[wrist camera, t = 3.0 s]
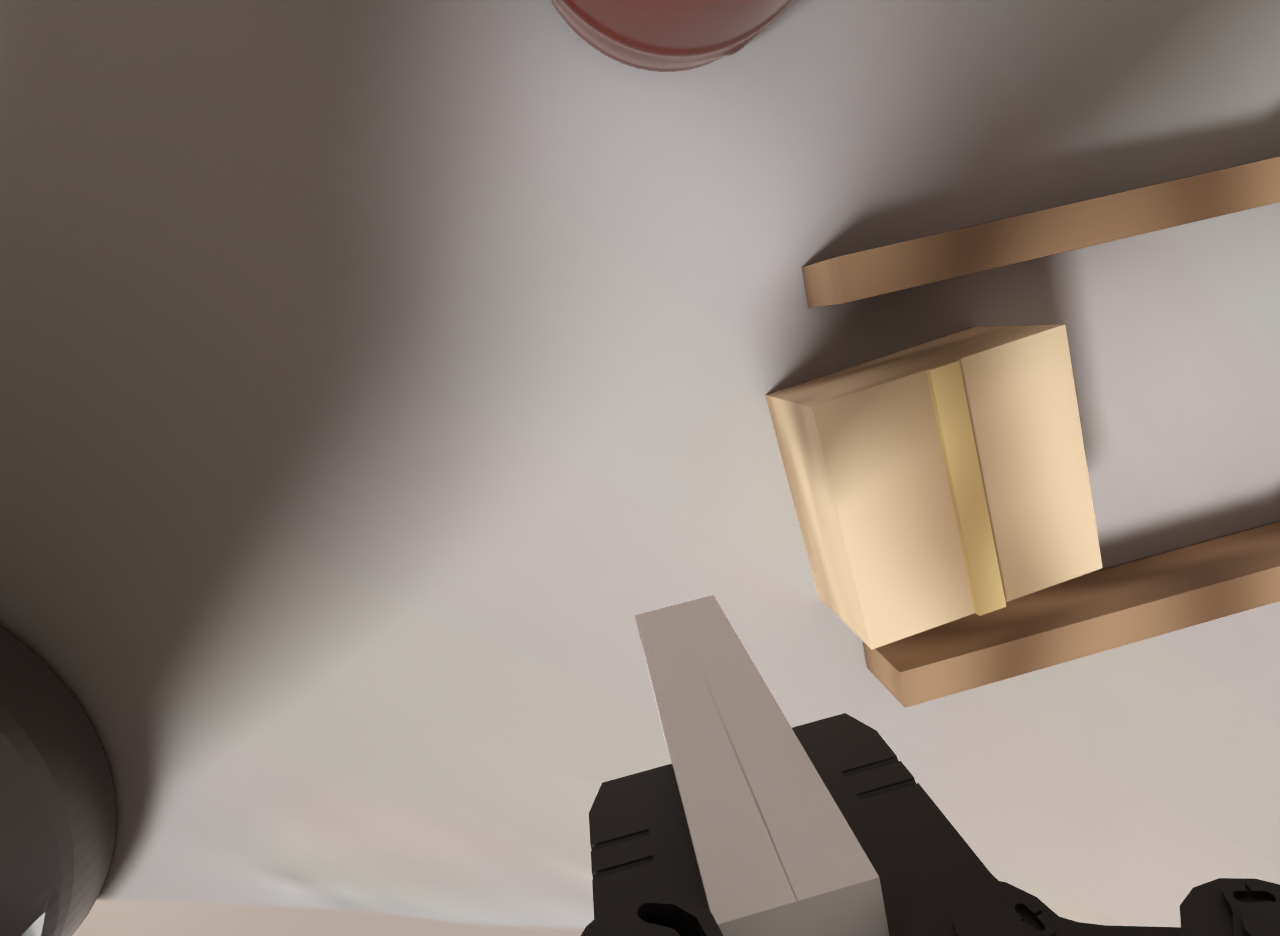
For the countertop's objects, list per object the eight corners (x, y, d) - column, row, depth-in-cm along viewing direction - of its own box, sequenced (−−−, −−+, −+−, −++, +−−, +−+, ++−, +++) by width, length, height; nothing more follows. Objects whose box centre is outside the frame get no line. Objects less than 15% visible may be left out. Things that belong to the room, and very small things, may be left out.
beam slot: (867, 670, 22) (910, 716, 20) (801, 263, 20) (840, 251, 17) (1413, 518, 24) (1522, 540, 21) (1426, 121, 21) (1555, 89, 18)
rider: (815, 594, 22) (875, 653, 18) (763, 394, 20) (815, 408, 16) (1007, 528, 22) (1108, 570, 18) (970, 326, 21) (1071, 323, 17)
